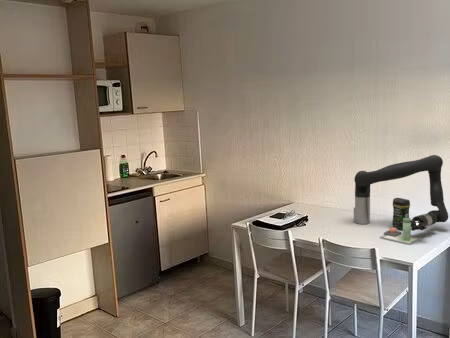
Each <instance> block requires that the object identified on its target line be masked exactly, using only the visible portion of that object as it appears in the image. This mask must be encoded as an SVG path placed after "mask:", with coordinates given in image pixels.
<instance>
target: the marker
mask: <svg viewBox="0 0 450 338" xmlns="http://www.w3.org/2000/svg"><path fill="white" fill-rule="evenodd" d="M411 220H412V219H411V217H409V218H403V230H402V234H403V240H405V241H410V240H411V236H412V235H411V231H412V230H411Z"/></svg>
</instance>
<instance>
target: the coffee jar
mask: <svg viewBox="0 0 450 338" xmlns="http://www.w3.org/2000/svg"><path fill="white" fill-rule="evenodd" d="M410 207H411V202H410V199H406V198H403V197H402V198H401V197H394V198H393V200H392V208H393V211H392V212H393V213H392V214H393V215H392V223H391V224H392V225H391V227H395V228H397V230H398V231H399V230H400V231H403V226H402V227H398V226H397V224H398V223H399V221H400V220H403V218H410Z"/></svg>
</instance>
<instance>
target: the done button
mask: <svg viewBox="0 0 450 338" xmlns="http://www.w3.org/2000/svg"><path fill="white" fill-rule="evenodd" d="M388 231H389V233H397V231H398V229H397V228H395V227H392V226H391V227H389V228H388Z"/></svg>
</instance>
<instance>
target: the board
mask: <svg viewBox="0 0 450 338" xmlns="http://www.w3.org/2000/svg"><path fill="white" fill-rule="evenodd" d="M383 233H384V234H383V235H381V236H380V237H379V239H381V240H386V241H390V242H395V243H399V244H403V245H408V246H410V245H413V244H415V243H417V242H419V241H422V240H423V237H419V236H414V235H411V240H410V241H405V240H403V231H399V230H397V233H389V230H387V231H384V232H383Z"/></svg>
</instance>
